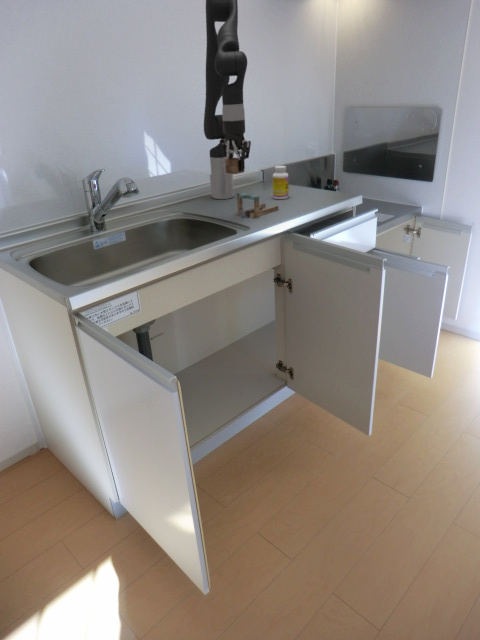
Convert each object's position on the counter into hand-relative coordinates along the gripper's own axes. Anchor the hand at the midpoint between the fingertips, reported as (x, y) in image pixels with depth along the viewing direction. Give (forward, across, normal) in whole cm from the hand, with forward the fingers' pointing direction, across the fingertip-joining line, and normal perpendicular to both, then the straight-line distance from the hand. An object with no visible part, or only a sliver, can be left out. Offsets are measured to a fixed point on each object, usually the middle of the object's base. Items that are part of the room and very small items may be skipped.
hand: (236, 170), depth 171 cm
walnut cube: (+1, 0, +1) cm, 1 cm away
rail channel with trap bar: (+17, 0, -10) cm, 20 cm away
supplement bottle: (+18, +9, -33) cm, 38 cm away
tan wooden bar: (+17, 0, -6) cm, 18 cm away
